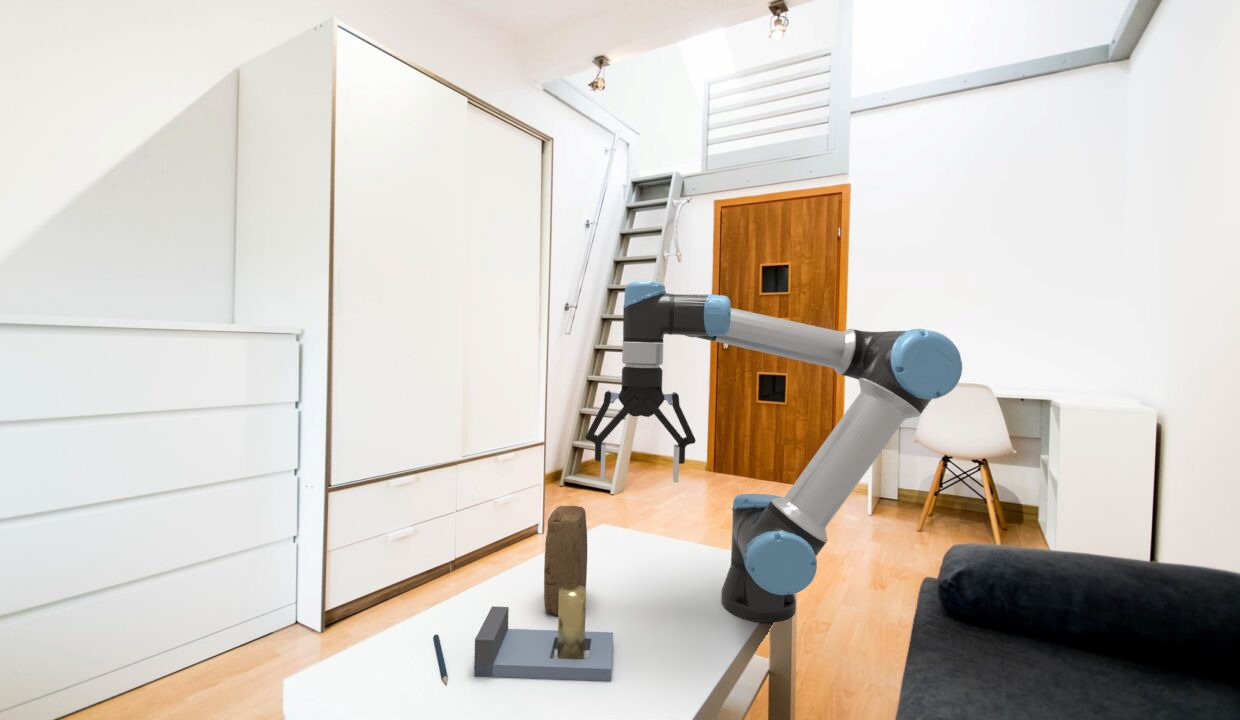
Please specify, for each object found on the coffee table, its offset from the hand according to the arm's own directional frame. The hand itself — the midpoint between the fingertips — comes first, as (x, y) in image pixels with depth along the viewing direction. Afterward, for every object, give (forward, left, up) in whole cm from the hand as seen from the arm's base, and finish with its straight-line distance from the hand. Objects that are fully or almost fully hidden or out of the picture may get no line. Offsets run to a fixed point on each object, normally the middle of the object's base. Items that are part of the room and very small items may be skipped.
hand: (639, 479), depth 102 cm
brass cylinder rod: (+11, +10, -29) cm, 32 cm away
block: (+14, -9, -29) cm, 33 cm away
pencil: (+33, +11, -29) cm, 45 cm away
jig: (+15, +10, -29) cm, 34 cm away
